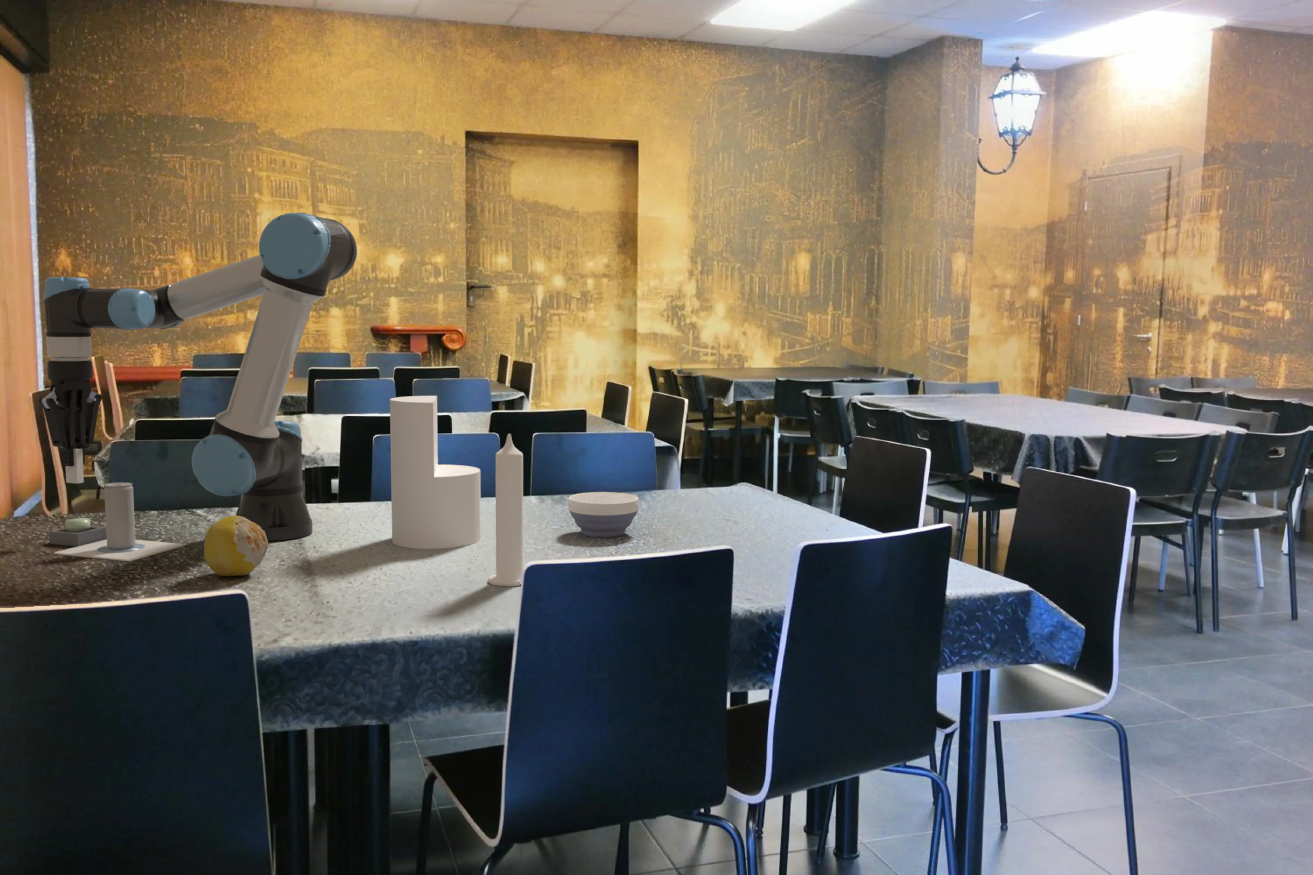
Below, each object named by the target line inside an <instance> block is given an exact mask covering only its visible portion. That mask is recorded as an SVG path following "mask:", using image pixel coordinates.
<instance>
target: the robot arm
mask: <svg viewBox="0 0 1313 875" xmlns="http://www.w3.org/2000/svg"><path fill="white" fill-rule="evenodd" d="M258 253H259V254H257V255H255V256H251V257H248V258H245V259H242V260H240V261H237V262H236V261H235V262H233V263H231V264H228V265H225V266H221V267H217V268H214V269H211V270H208V271H207V272H202V273H200V274H198V275H194V276H191V277H188V278H184V279H182V280H179V281H176V282H173V283H171V284H167V285H164V286H161V287H158V288H154V289H136V288H130V287H129V288H128V287H125V288H94V287H93V288H92V287H91V285H90V282H89V280H88V279H87V278H86V277H72V276H71V277H69V276H67V277H66V276H65V277H64V276H51V277H48V278H46V279H45V281H44V297H43V303H44V305H43V306H44V315H45V326H46V327H45V328H46V331H45V332H46V334H45V335H46V337H45V338H46V356H47V357H48V358H50V360H48V362H47V363H46V366H47V368H46V369H47V379H48V380H50V383H51V385H50V387H49V393H48V394H47V395H46V396H45V397H40V398H38V403H39V405H40V407H41V408H42V409H43V412H44V417H45V420H46V424H47V428H48V433H49V435H50V440H51V444H52V446H53V447H56V448H57V449H60V450H62V464H63V466H64V467H65V481H66V484H67V483H68V484H83V483H84V482H85V480H84V465H85V462H86V458H85V454H86V453H85V449H89V448H90V445H91V444H93V443H94V441H95V440H94V439H95V433H96V426H97V421H98V420H97V419H98V413H99V407H100V404H101V402H102V400H103V395H102V394H101V393H96V392H95V391H94V390H93V388H92V385H91V380H92V379H93V378H94V375H93V370H94V369H93V362H92V360H90V359H91V358H92V357H93V349H92V345H93V344H92V329H106V330H107V329H108V330H109V329H111V330H125V331H130V330H131V331H136V330H143V329H160V330H166V329H170V328H175V327H178V326H180V325H181V324H182V323H184V322H185V321H186V320H189V319H192V318H196V317H199V316H202V315H205V314H209V313H212V312H214V311H217V310H221V309H224V308H227V307H230V306H233V305H237V304H239V303H244V302H246V301H250V300H252V299H255V298H259V297H261V296H262V298H261V302H260V304H259V308H258V311H257V314H256V317H255V319H254V323H253V327H252V330H251V332H250V335H249V338H248V342H247V344H246V349H245V351H244V354H243V358H242V362H241V365H240V368H239V371H238V373H237V377H236V381H235V383H234V386H233V389H232V393H231V396H230V399H229V402H228V406H227V408H226V410H224V411H222V412H220V413H218V414H216V415H215V418H214V420H213V424H212V427H211V430H210V433H209V435H206V437H204V438H202V439H201V440H200V441H199V442H198V443H197V444H196V445H195V447H194V449H193V452H192V455H191V468H192V471H193V474H194V476H195V477H196V479H197V481H198V483H199V484H200V485H201V486H202V487H203V488H204V489H205V490H206V491H208V492H209V493H211V494H212V495H213V494H214V495H216V496H220V497H232V496H240V501H239V502H238V503H239V504H238V506H237V507H238V508H237V510H236V514H235V516H242V517H245V518H246V519H248V520H250V521H252V522H254V523H256V524H257V525H259V526H260V527H261V529H262V530H263V531H265V534H266V537H267V540H268V542H272V541H273V542H275V541H284V540H285V541H286V540H292V539H299V538H302V537H306V536H309V535H311V534H312V533H313V529H314V528H313V520H312V518H311V515H310V513H309V512H310V511H309V509H308V506H307V504H306V500H305V498H304V495H303V494H304V492H303V457H302V456H303V452H302V451H303V450H302V449H303V446H302V444H303V437H302V432H301V431H302V430H301V427H300V424H298V422H296V421H291V420H289V421H286V420H276V419H277V416H278V411H279V408H280V406H281V402H282V400H283V396H284V394H285V391H286V390H285V389H286V387H287V384H288V382H289V378H290V375H291V371H292V369H293V365H294V363H295V360H296V356H297V354H298V350H299V347H300V343H301V341H302V338H303V335H304V332H305V330H306V326H307V322H308V319H309V316H310V312H311V310H312V307H313V305H314V303H316V302H318V301H320V300H321V299H323V298H324V297H325V295H326V292H327V289H328V286H329V283H330V281H335V280H338V279H340V278H342V277H344V276H345V275H347V274H348V273H349V272H350V271H351V270H352V268H353V267H354V265H355V263H356V260H357V255H358V247H357V242H356V239H355V237H354V235H353V234H352V232H351V231H350V230H349V229H348V228H347V226H345V225H344V224H343V223H341V222H339V221H338V220H336V219H331V218H328V217H327V218H326V217H325V218H324V217H322V216H321V217H320V216H317V215H314V214H310V213H305V212H288V213H284V214H281V215H279V216H276V217H274V218H273V219H271V220H270V221H269V222H268V224H266V226H265V227H264V229H263V230H262V232H261V235H260V237H259V243H258Z"/></svg>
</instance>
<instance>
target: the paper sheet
mask: <svg viewBox="0 0 1313 875" xmlns="http://www.w3.org/2000/svg"><path fill="white" fill-rule="evenodd" d="M185 546H186V544H185V543H175V542H165V541H164V542H163V541H153V540H143V539H135V545H134V547H132V548H130V549H124V550H112V549H109V548H108V546H107V540H103V541H99V542H94V543H90V544H86V545H82V546H73V547H71V548H66V549H62V550H58V551H55V552H54V553H53V555H61V556H70V557H71V556H72V557H79V558H80V557H81V558H92V559H102V560H111V561H121V562H122V561H123V562H132V561H137V560H139V559H142V558H143V559H144V558H147V557H149V556H153V555H157V554H161V553H164V552H168V551H173V550H175V549H180V548H182V547H185Z"/></svg>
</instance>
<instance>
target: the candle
mask: <svg viewBox="0 0 1313 875" xmlns="http://www.w3.org/2000/svg"><path fill="white" fill-rule="evenodd" d="M522 570H523V571H524V454H523V452H522V451H520V450H519V449H518V448H517V447H515V445H514V443H513V439H512V434H511V433H508V434H507V435H506V440H505V444H504V446H503V447H502V448H501V449H500V450H499V451H497V452H495V573H493V574H491V575H489V576H488V580H487V582H488V584H490V585H493V586H496V587H519V586H521V585H520V577H521V573H522Z"/></svg>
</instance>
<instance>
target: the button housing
mask: <svg viewBox="0 0 1313 875" xmlns="http://www.w3.org/2000/svg"><path fill="white" fill-rule="evenodd" d="M90 529H91V530H88V531H83V532H66V527H63V528H58V529H54V530H50V531H48V541H49V542H48V543H49V544H50V545H58V546H59V545H60V546H69V547H78V546H82V545H86V544H90V543H94V542H99V541H103V540H107V534H106V526H97V525H90Z"/></svg>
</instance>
